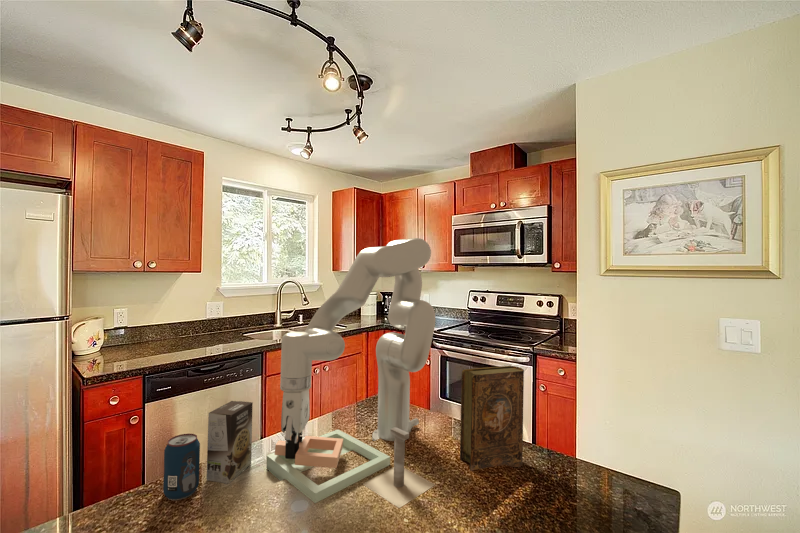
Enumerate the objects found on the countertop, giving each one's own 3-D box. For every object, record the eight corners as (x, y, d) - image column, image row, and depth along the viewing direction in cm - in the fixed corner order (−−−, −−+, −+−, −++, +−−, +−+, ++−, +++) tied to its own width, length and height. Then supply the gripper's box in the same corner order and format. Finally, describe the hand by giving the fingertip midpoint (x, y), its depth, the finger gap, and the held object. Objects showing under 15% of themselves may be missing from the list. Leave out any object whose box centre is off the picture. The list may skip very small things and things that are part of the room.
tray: (337, 441, 109) (338, 429, 109) (389, 470, 93) (390, 456, 93) (266, 469, 93) (266, 455, 93) (314, 510, 78) (315, 493, 78)
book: (512, 456, 102) (514, 365, 102) (525, 466, 97) (527, 370, 97) (459, 465, 97) (461, 369, 97) (470, 476, 91) (471, 375, 92)
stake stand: (398, 470, 93) (399, 416, 94) (435, 491, 85) (436, 431, 85) (361, 490, 85) (362, 430, 85) (399, 515, 77) (400, 449, 77)
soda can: (176, 483, 87) (177, 431, 87) (205, 484, 86) (206, 432, 86) (155, 501, 80) (156, 445, 80) (187, 503, 79) (188, 447, 79)
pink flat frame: (342, 448, 98) (343, 438, 98) (336, 468, 88) (337, 457, 88) (282, 443, 98) (283, 433, 98) (269, 462, 88) (270, 452, 88)
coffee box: (229, 484, 86) (230, 415, 86) (205, 480, 88) (206, 412, 88) (252, 464, 95) (253, 401, 95) (230, 461, 97) (231, 399, 97)
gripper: (302, 392, 85) (300, 472, 85) (317, 373, 101) (315, 440, 101) (270, 391, 85) (267, 472, 85) (290, 372, 101) (287, 440, 101)
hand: (293, 454), depth 93 cm, fingers closed on pink flat frame, 2 cm apart
